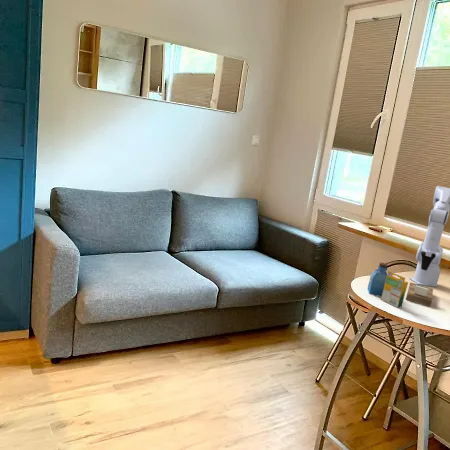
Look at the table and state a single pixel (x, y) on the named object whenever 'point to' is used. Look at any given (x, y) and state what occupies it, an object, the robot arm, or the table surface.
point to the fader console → (419, 296)
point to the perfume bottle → (378, 280)
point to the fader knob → (421, 290)
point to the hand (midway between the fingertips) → (423, 269)
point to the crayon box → (394, 290)
